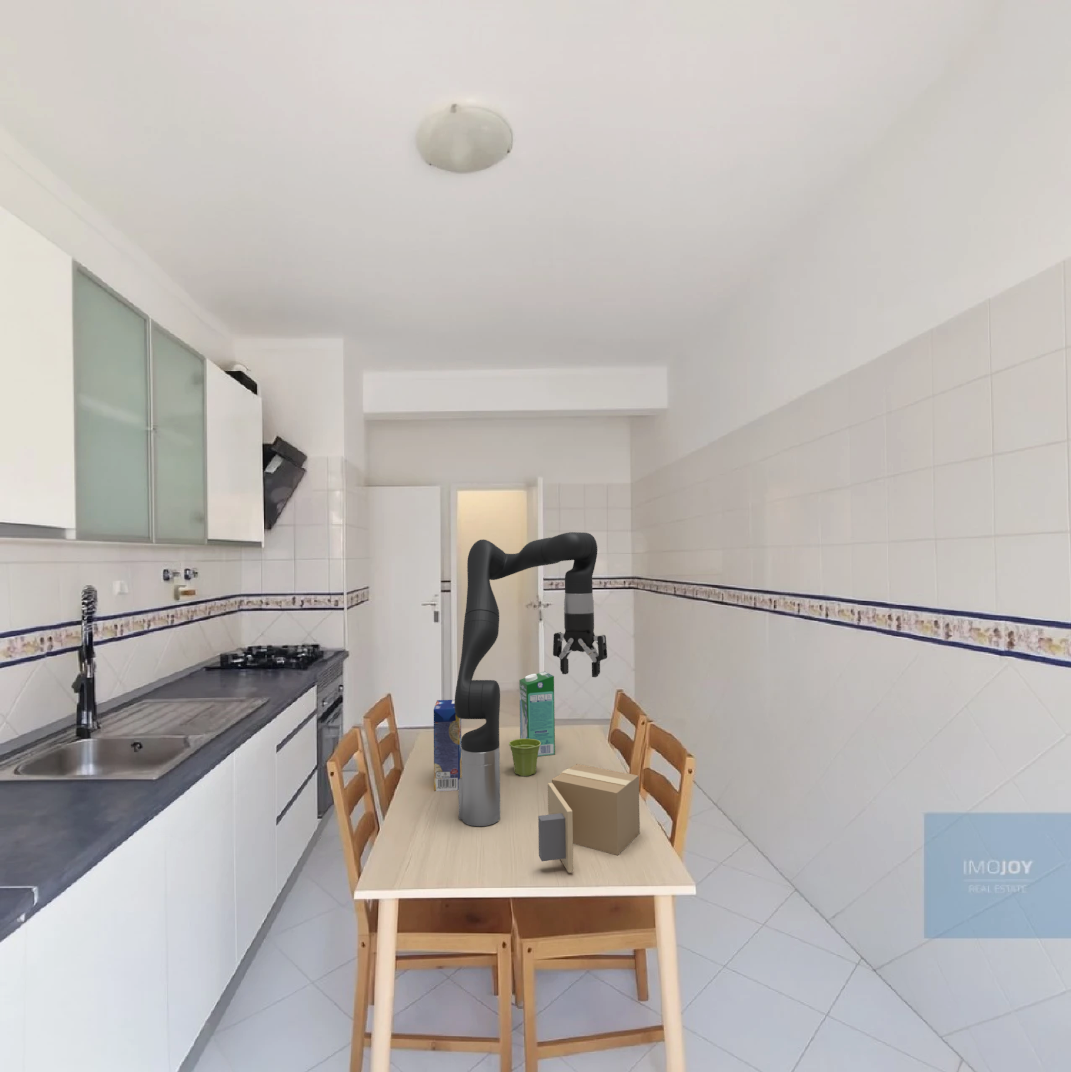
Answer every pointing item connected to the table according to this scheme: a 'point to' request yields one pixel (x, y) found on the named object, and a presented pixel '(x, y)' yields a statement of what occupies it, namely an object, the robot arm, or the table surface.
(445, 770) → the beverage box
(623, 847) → the carton
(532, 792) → the table surface
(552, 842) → the front flap
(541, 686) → the milk carton
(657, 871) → the table surface
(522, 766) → the plant pot
